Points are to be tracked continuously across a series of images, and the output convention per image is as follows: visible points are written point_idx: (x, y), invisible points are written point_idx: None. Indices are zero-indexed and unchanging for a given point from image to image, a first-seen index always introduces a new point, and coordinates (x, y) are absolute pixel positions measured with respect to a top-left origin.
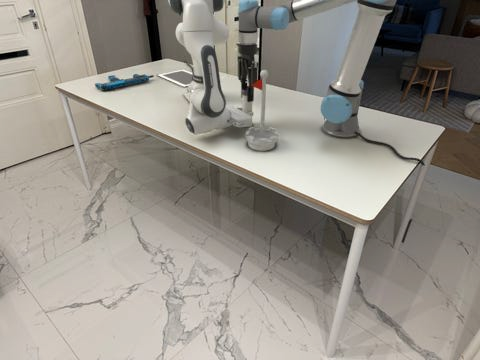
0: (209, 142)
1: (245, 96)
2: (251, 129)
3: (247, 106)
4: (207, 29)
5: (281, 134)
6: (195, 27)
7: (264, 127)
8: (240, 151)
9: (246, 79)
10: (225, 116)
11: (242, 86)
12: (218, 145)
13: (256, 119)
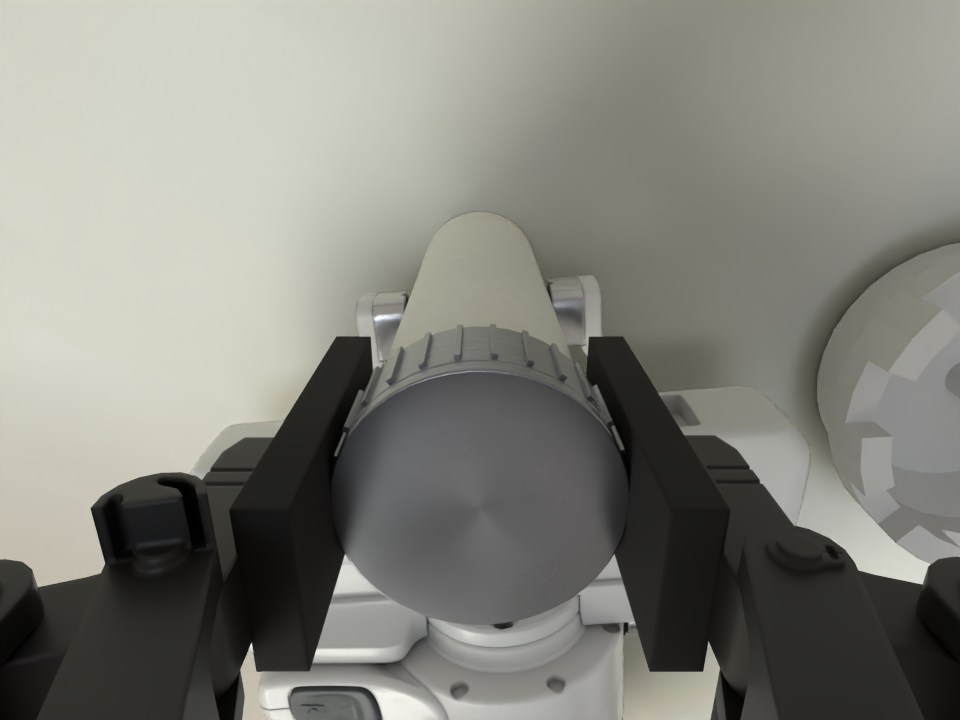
0: (625, 676)
1: None
2: (886, 470)
3: None
4: None
5: (918, 37)
6: None
7: (937, 311)
8: (904, 560)
9: (209, 600)
10: (617, 688)
11: (330, 597)
12: (710, 646)
13: (380, 73)
